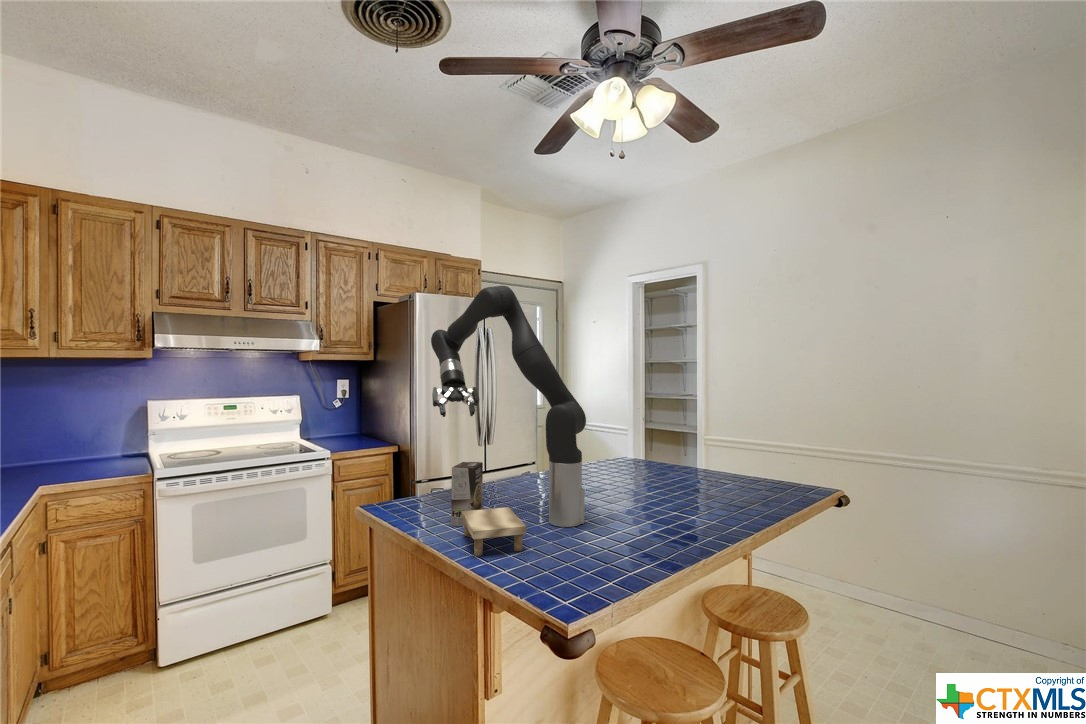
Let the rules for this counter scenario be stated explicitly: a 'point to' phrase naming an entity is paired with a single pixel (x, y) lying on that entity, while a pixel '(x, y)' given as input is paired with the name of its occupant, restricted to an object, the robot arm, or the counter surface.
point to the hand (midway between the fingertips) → (458, 414)
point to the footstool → (493, 526)
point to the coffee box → (466, 490)
